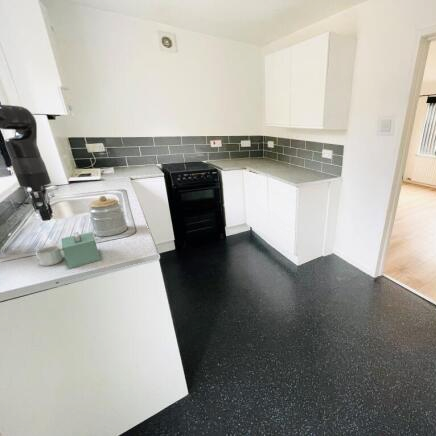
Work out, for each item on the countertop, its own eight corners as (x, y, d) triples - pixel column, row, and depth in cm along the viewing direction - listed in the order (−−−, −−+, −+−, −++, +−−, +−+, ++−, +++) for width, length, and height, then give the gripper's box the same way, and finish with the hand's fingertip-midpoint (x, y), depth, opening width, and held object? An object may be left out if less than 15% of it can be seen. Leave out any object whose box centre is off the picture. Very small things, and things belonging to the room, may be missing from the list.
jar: (119, 236, 112) (109, 198, 106) (88, 238, 111) (76, 200, 104) (132, 225, 124) (124, 192, 118) (104, 227, 123) (94, 193, 117)
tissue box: (69, 268, 86) (59, 242, 82) (68, 257, 93) (59, 233, 90) (100, 259, 91) (93, 235, 88) (97, 250, 99) (90, 227, 96)
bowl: (40, 268, 86) (34, 255, 84) (40, 261, 90) (35, 249, 89) (63, 262, 90) (59, 250, 88) (63, 256, 94) (59, 244, 93)
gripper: (18, 169, 84) (35, 214, 89) (10, 175, 73) (30, 225, 79) (48, 167, 88) (62, 210, 94) (44, 172, 78) (61, 220, 84)
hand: (48, 217), depth 86 cm, fingers open, 8 cm apart
